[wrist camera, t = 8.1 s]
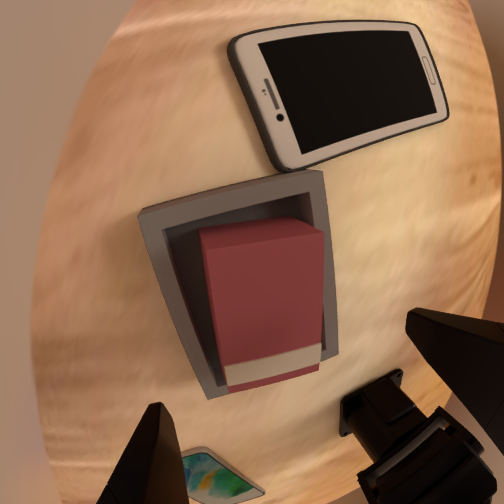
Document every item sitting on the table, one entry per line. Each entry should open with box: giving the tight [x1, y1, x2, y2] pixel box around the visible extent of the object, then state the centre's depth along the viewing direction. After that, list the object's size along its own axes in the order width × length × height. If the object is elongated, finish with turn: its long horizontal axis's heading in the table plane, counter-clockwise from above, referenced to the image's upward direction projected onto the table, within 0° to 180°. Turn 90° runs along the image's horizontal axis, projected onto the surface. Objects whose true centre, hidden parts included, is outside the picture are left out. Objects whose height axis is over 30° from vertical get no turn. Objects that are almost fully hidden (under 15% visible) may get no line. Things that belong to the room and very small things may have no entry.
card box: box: [198, 215, 324, 393], centre depth 13 cm, size 7×4×4 cm, turn 4°
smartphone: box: [181, 447, 266, 504], centre depth 21 cm, size 7×1×15 cm
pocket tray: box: [137, 169, 339, 400], centre depth 14 cm, size 11×8×2 cm
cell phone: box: [227, 20, 450, 173], centre depth 13 cm, size 8×15×1 cm, turn 112°
